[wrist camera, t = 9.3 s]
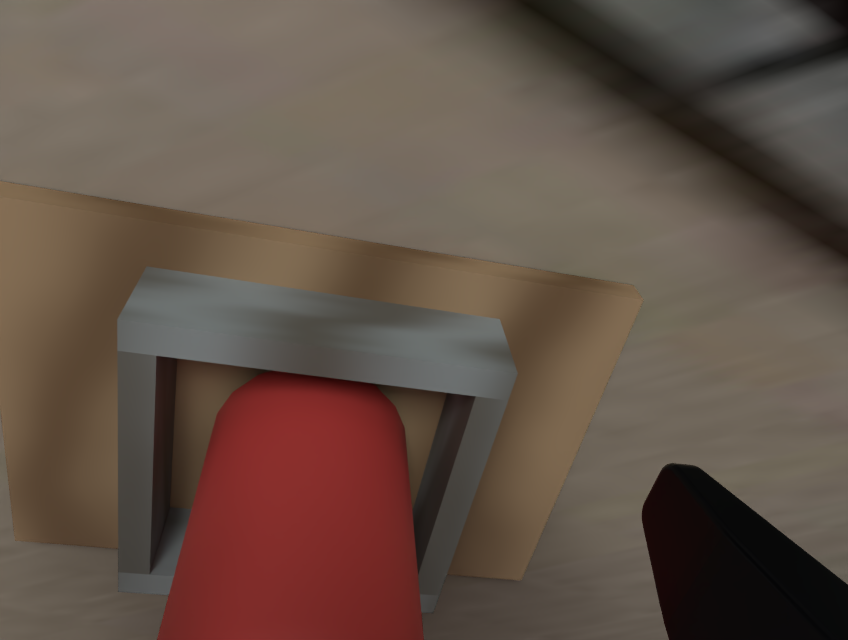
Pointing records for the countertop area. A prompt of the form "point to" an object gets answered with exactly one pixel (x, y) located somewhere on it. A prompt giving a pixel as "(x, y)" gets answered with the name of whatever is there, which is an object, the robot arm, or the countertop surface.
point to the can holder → (287, 352)
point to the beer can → (300, 519)
